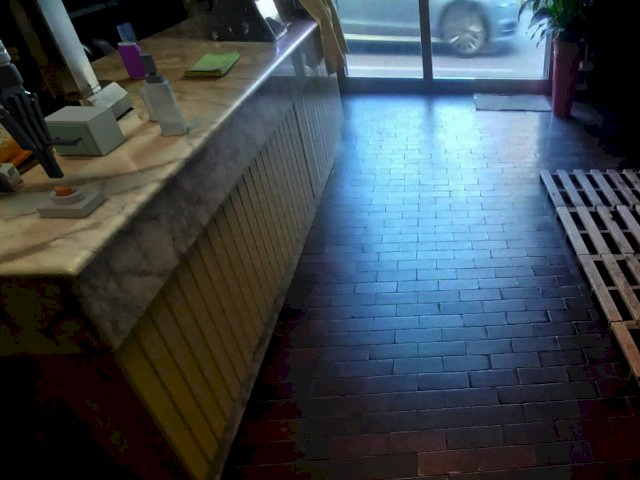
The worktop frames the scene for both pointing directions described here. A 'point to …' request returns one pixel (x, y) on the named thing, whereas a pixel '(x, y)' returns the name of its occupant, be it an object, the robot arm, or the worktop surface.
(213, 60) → the dish towel
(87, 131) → the drawer
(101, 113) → the cabinet
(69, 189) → the button
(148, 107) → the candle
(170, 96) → the soap dispenser
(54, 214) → the control block
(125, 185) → the worktop surface
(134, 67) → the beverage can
